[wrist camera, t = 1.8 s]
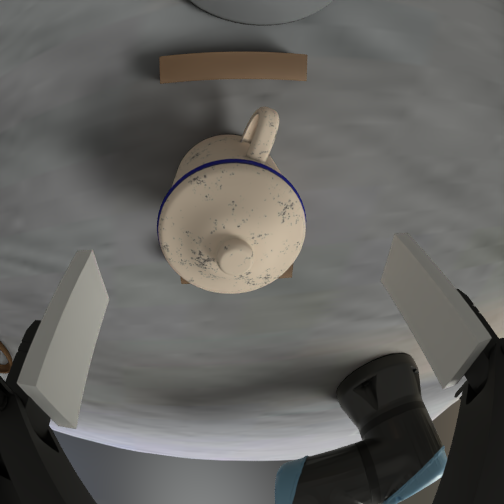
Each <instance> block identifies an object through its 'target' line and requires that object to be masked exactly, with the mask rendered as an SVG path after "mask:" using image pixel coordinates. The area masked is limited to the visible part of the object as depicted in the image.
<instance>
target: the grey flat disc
mask: <svg viewBox="0 0 504 504" xmlns="http://www.w3.org/2000/svg"><path fill="white" fill-rule="evenodd" d="M189 1H190V2H191V3H192V4H194V5H195V6H197V7H198V8H200V9H201V10H203V11H205V12H207V13H209V14H211V15H213V16H216V17H218V18H221V19H224V20H227V21H231V22H234V23H240V24H246V25H258V26H264V25H279V24H285V23H290V22H294V21H297V20H300V19H303V18H306V17H308V16H310V15H312V14H314V13H316V12H318V11H319V10H321V9H323V8H324V7H326V6H327V5H328V4H329V3H331V2H332V1H333V0H189Z"/></svg>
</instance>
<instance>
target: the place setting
mask: <svg viewBox="0 0 504 504" xmlns="http://www.w3.org/2000/svg"><path fill="white" fill-rule="evenodd" d="M0 350H1V351H2V352H3V353H4V355H5V356H6V357H7V359H8V361H9V363H8V364H6V365H1V364H0V373H9V371H10V368H11V366H12V358H11V356H10V354H9V352H8V350H7V349H6V347H5V346H4V345H3V344H2V343H1V342H0Z"/></svg>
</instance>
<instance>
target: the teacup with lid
mask: <svg viewBox="0 0 504 504" xmlns="http://www.w3.org/2000/svg"><path fill="white" fill-rule="evenodd" d="M278 125H279V116H278V113H277V112H276V111H275V110H273V109H271V108H268V107H260V108H259V109H257V110H256V111H255V113H254V114H253V115H252V117H251V118H250V120H249V122H248V124H247V126H246V128H245V131H244V133H243V135H242V136H238V135H218V136H213V137H210V138H208V139H205V140H203V141H201V142H200V143H198V144H197V145H195V146H194V147H193V148H192V149H190V150H189V152H188V153H187V154H186V155H185V156H184V158H183V159H182V161H181V163H180V165H179V167H178V170H177V173H176V176H175V179H174V181H173V184H172V187H171V189H170V190H169V191H168V193H167V195H166V196H165V198H164V200H163V202H162V204H161V207H160V210H159V214H158V220H157V234H158V240H159V244H160V247H161V249H162V252H163V254H164V256H165V258H166V260H167V261H168V263H169V265H170V266H171V267H172V268H173V269H174V270H175V271H176V272H177V274H179V275H180V276H181V277H182V278H183V279H185V280H186V281H188V282H189V283H191V284H193V285H195V286H197V287H199V288H202V289H204V290H208V291H211V292H217V293H228V294H232V293H243V292H248V291H252V290H255V289H258V288H261V287H263V286H265V285H267V284H269V283H271V282H273V281H274V280H276V279H277V278H279V277H280V276H281V275H282V274H283V273H284V272H285V271H287V269H288V268H289V267H290V266H291V265H292V263H293V262H294V261H295V259H296V258H297V256H298V254H299V252H300V250H301V248H302V245H303V242H304V238H305V231H306V214H305V209H304V206H303V203H302V200H301V198H300V196H299V194H298V193H297V191H296V189H295V188H294V187H293V185H292V184H291V183H290V182H289V181H288V180H287V179H286V178H285V177H284V176H283V175H282V174H281V172H280V171H279V169H278V167H277V166H276V164H275V163H274V161H273V159H272V158H271V156H270V155H269V153H270V150H271V148H272V146H273V143H274V140H275V137H276V134H277V130H278Z"/></svg>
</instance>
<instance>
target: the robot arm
mask: <svg viewBox="0 0 504 504" xmlns="http://www.w3.org/2000/svg"><path fill="white" fill-rule="evenodd" d="M381 282H382V284H383V286H384V287H385V289H386V290H387V292H388V293H389V295H390V297H391V298H392V300H393V301H394V303H395V305H396V306H397V308H398V310H399V311H400V313H401V315H402V316H403V318H404V320H405V321H406V323H407V325H408V326H409V328H410V330H411V331H412V333H413V335H414V337H415V338H416V340H417V342H418V344H419V345H420V347H421V349H422V351H423V353H424V354H425V356H426V358H427V360H428V362H429V364H430V365H431V367H432V369H433V371H434V373H435V375H436V377H437V379H438V381H439V383H440V384H441V386H442V388H443V389H446V388H448V387H451V386H453V385H456V384H457V383H458V382H459V381H460V379H461V378H462V377H463V376H464V375H465V377H466V379H467V381H466V382H465V383H464V384H463V385H462V386H461V388H460V389H459V390H458V391H457V392H456V394H455V396H454V397H457V396H458V395H459V394H460V393H461V392H462V391H463V392H462V396H461V397H460V398H459V399H461V404H460V409H459V414H458V419H457V423H456V428H455V432H454V436H453V440H452V445H451V448H450V452H449V455H448V459H447V457H446V454H445V451H444V448H445V447H444V446H443V445H442V443H441V440H440V438H439V436H438V434H437V431H436V429H435V427H434V424H433V423H432V420H431V418H430V416H429V413H428V411H427V409H426V407H425V405H424V403H423V400H422V397H421V388H420V379H419V371H418V367H417V365H416V363H415V361H414V359H413V358H412V357H411V356H410V355H407V354H394V355H389V356H385V357H382V358H379V359H377V360H374V361H372V362H370V363H368V364H366V365H364V366H362V367H361V368H359V369H358V370H356V371H355V372H353V373H352V374H351V375H349V376H348V377H347V378H346V379H345V380H344V381H343V382H342V383H341V384H340V386H339V388H338V390H337V397H338V401H339V404H340V406H341V408H342V409H343V410H344V411H345V413H346V414H347V415H348V416H349V418H350V419H351V420H352V421H353V423H354V424H355V425H356V426H357V428H358V429H359V432H360V435H361V438H362V441H360V442H357V443H354V444H351V445H348V446H345V447H341V448H338V449H335V450H332V451H328V452H325V453H321V454H317V455H314V456H310V457H309V456H305V457H304V458H301V459H297V460H294V461H291V462H287V463H285V464H283V465H282V466H281V467H280V468H279V470H278V472H277V476H276V482H275V504H378V503H381V504H397V503H399V502H401V501H403V500H404V499H406V498H408V497H410V496H411V495H413V494H415V493H417V492H418V491H420V490H422V489H423V488H425V487H427V486H428V485H430V484H431V483H433V482H435V481H436V480H438V479H439V478H441V477H442V478H441V481H440V484H439V487H438V490H437V493H436V495H435V498H434V501H433V503H432V504H504V338H500V339H499V338H498V337H497V335H496V334H495V332H494V331H493V330H492V328H491V327H490V325H489V324H488V323H487V321H486V320H485V318H484V317H483V316H482V314H481V313H479V310H478V309H477V308H476V306H475V307H474V304H473V303H472V301H471V300H470V299H469V297H468V296H467V295H465V294H464V293H463V292H462V291H460V290H459V289H456V288H455V287H454V286H453V285H452V283H451V282H450V281H449V280H448V279H447V277H446V276H445V275H444V274H443V272H442V271H441V270H440V269H439V268H438V267H437V265H436V264H435V263H434V262H433V261H432V260H431V258H430V257H429V256H428V255H427V254H426V253H425V252H424V250H423V249H422V248H421V247H420V246H419V245H418V244H417V243H416V241H415V240H414V239H413V238H412V237H411V236H410V235H409V234H408V233H395V234H394V238H393V241H392V245H391V248H390V252H389V255H388V259H387V262H386V265H385V268H384V272H383V275H382V278H381ZM108 302H109V297H108V294H107V291H106V288H105V285H104V283H103V280H102V277H101V274H100V271H99V268H98V265H97V262H96V258H95V255H94V252H93V250H81V251H77V252H76V254H75V256H74V258H73V260H72V261H71V263H70V265H69V267H68V269H67V270H66V272H65V274H64V276H63V278H62V280H61V282H60V284H59V286H58V288H57V289H56V291H55V293H54V295H53V297H52V300H51V302H50V304H49V306H48V308H47V310H46V312H45V314H44V316H43V319H42V321H40V320H35V321H34V322H33V323H32V324H31V326H30V327H29V328H28V329H27V330H26V332H25V335H24V337H23V339H22V343H21V344H20V346H19V348H18V352H17V353H16V356H15V358H14V361H13V363H12V366H11V368H10V371H9V373H8V376H7V379H6V382H5V381H4V380H3V379H2V377H1V376H0V504H97V503H96V502H95V500H94V499H93V498H92V496H91V495H90V493H89V492H88V490H87V489H86V487H85V486H84V485H83V483H82V481H81V480H80V478H79V477H78V475H77V473H76V472H75V470H74V469H73V467H72V465H71V463H70V462H69V460H68V458H67V457H66V455H65V453H64V451H63V449H62V448H61V446H60V444H59V442H58V440H57V438H56V436H55V434H54V432H53V430H52V429H51V428H50V426H49V423H50V419H52V420H53V421H54V422H55V423H56V424H57V425H58V426H62V427H67V428H73V429H76V428H77V422H78V417H79V412H80V407H81V402H82V397H83V393H84V388H85V384H86V380H87V376H88V371H89V367H90V364H91V360H92V356H93V352H94V348H95V345H96V341H97V338H98V334H99V331H100V327H101V324H102V321H103V317H104V314H105V311H106V308H107V305H108Z"/></svg>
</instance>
